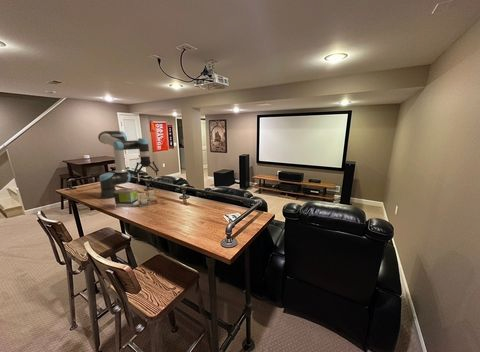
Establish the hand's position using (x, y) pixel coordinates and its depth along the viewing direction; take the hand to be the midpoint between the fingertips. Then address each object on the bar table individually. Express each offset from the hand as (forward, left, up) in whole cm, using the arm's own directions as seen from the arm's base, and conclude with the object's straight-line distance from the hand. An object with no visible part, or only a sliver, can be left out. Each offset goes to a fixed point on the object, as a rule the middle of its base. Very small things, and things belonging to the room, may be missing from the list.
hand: (147, 180), depth 172 cm
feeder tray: (-3, +2, -22) cm, 22 cm away
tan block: (+7, -6, -20) cm, 22 cm away
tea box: (-4, -18, -22) cm, 28 cm away
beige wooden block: (-1, +2, -21) cm, 21 cm away
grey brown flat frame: (+7, -2, -22) cm, 23 cm away
